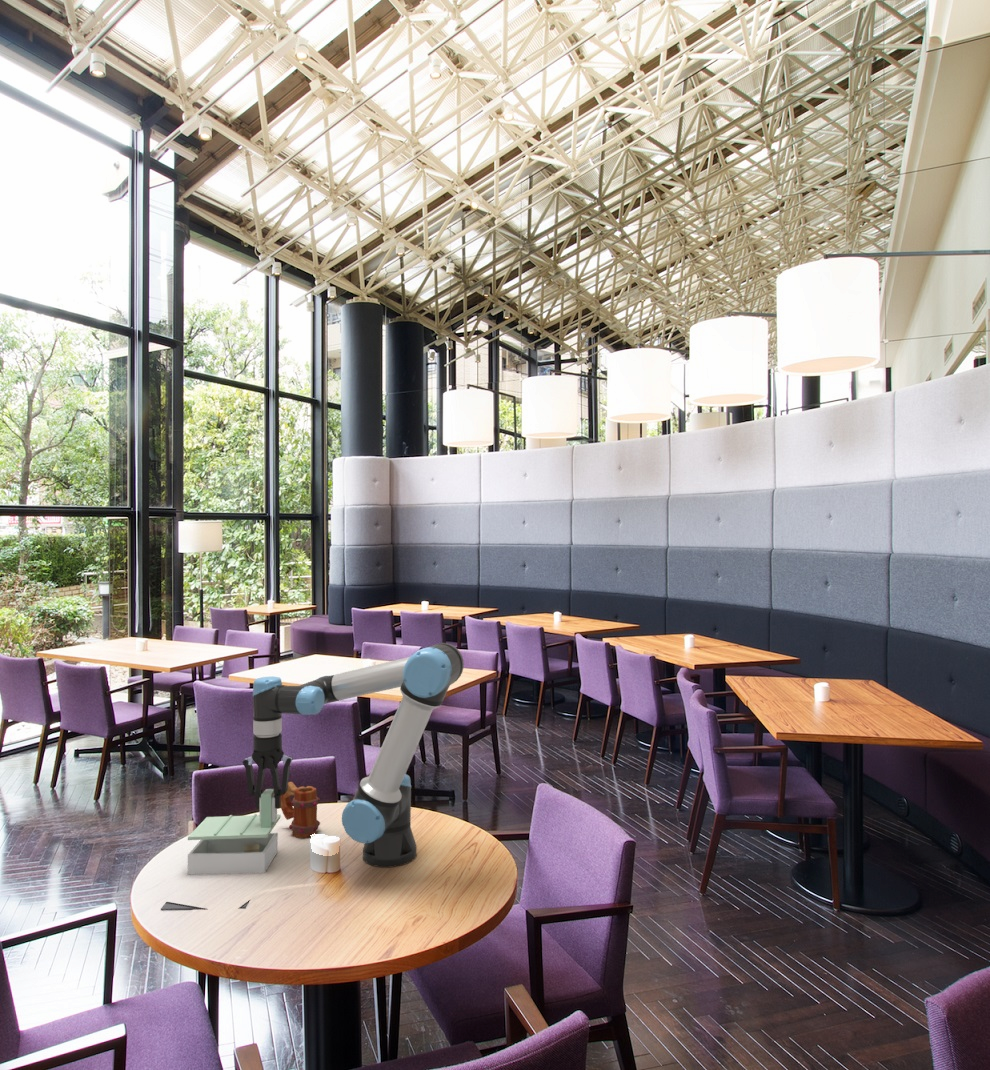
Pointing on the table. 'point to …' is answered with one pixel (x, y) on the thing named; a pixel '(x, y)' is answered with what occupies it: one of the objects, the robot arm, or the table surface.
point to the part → (251, 848)
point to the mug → (301, 810)
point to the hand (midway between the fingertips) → (268, 820)
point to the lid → (239, 824)
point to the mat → (186, 907)
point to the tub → (232, 856)
